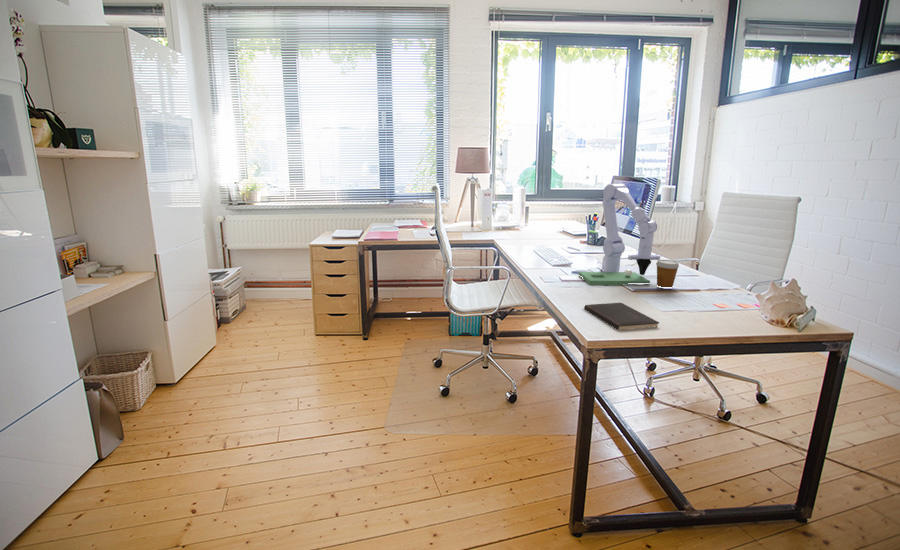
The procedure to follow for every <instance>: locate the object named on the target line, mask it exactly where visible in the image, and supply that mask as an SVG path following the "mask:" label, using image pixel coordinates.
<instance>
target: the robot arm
mask: <svg viewBox="0 0 900 550" xmlns="http://www.w3.org/2000/svg"><path fill="white" fill-rule="evenodd" d="M629 191H630V189H629V188H628V187H627V186H626V184H625V183H609V184H607V185H606V186H605V187H604V188H603V189H602V193H603V198H602V207H603V216H604V223H605V232H606V238H605V239H604V240H603V247H602V251H603V254H604V255H603V257H602V264H601V268H600V269H599V270H600V271H601V270H602V271H601V272H620V266H621V259H622V258H621V257H622V254H623V253H624V252H625V249H626V246H625V244H624V242H623V238H622V237H621V236H620V235H619V229H618V222H617V212H616V206H615V204H616V203H617V202H618V201H619V200H621V201H622V202H623V203H624V204H625V206H626V207H627V208H628V209H629V210H630V213H631V214H630V216H631V217H632V218H633V220H634V221H635V223H636V224H637V225H638V227H637V228H638V231H639V243H638V251H637V254H629V255H627V256H628V257H627V260H628V261H634V260H636V264H637V266H638V270H639V275H641V276H645V274H646V273H647V270H648V268H649V267H650V265H651V263H652V261H658V260H661V255H658V254H652V252H653V251H652V250H653V241H654V236H655V235H654V234H655V232H656V231H657V230H658V224H657V222H656V220H653V219H651V217H649V215H648V214H647V213H646V209H644V208H642V207H639V206H638V205H637V203H636V201H635V200H634V198H633V197H632V195H631V194H630V192H629ZM603 270H604V271H603Z"/></svg>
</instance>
